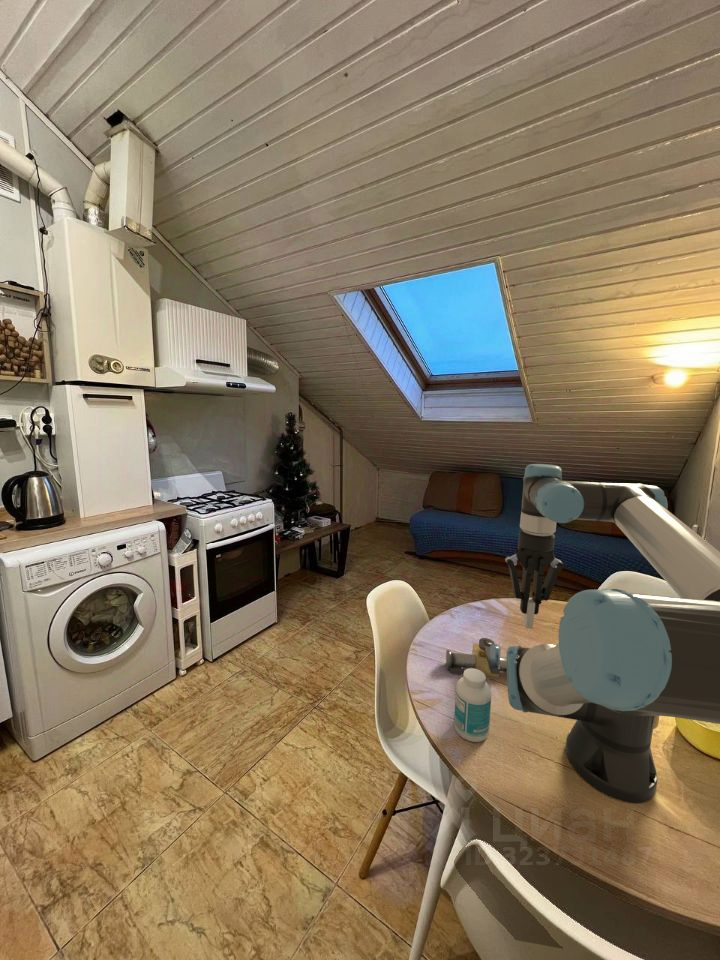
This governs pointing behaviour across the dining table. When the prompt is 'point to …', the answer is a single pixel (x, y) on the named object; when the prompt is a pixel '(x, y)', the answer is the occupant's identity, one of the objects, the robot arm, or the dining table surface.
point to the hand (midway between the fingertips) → (527, 625)
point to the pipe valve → (472, 662)
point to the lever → (491, 654)
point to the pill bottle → (472, 706)
